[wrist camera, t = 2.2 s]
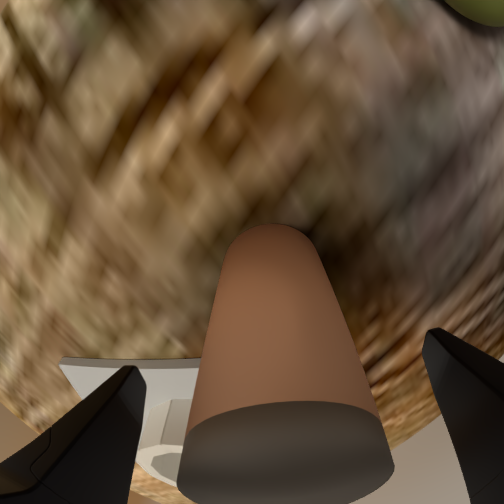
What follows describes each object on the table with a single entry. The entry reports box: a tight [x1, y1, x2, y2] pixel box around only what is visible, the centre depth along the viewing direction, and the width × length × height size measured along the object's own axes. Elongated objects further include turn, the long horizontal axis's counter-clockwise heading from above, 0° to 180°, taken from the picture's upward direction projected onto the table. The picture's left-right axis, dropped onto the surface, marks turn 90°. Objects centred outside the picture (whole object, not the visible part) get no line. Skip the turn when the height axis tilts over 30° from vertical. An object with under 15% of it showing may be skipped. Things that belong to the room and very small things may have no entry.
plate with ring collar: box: [58, 357, 201, 487], centre depth 17 cm, size 18×14×4 cm
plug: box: [176, 224, 394, 504], centre depth 9 cm, size 4×4×10 cm
